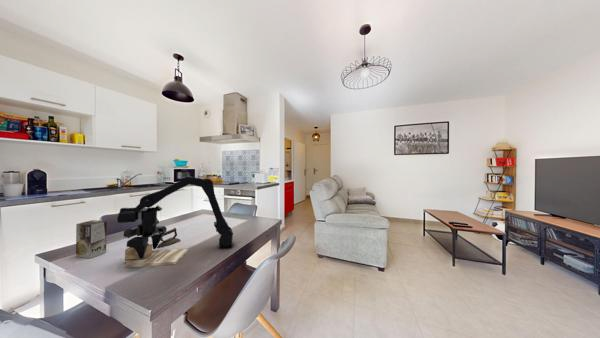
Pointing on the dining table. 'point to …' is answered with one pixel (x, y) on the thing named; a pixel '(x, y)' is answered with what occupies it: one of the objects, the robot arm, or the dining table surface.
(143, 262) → the birch board
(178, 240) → the clothes iron
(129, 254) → the block
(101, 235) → the coffee box
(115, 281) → the dining table surface
